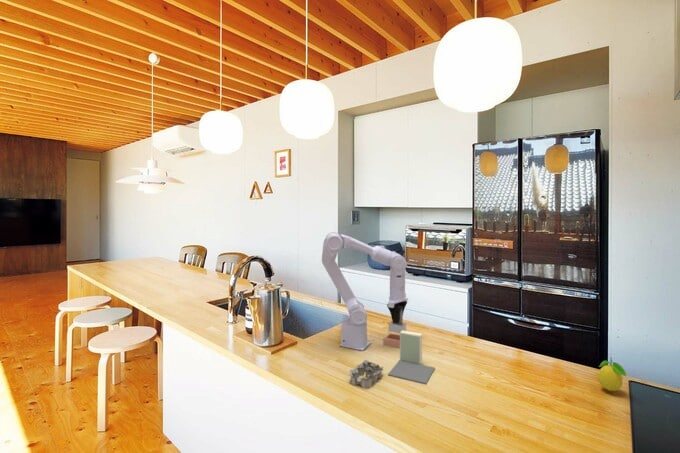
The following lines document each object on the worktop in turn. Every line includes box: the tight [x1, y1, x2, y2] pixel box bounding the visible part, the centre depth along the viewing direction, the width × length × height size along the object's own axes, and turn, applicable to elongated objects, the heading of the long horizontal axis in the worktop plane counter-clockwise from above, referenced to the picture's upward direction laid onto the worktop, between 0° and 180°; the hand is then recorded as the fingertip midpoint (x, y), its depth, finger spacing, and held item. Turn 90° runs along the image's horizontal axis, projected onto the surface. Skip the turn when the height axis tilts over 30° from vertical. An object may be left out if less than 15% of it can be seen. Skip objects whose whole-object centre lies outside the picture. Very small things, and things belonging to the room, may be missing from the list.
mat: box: [387, 359, 436, 385], centre depth 113 cm, size 12×11×1 cm
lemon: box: [597, 357, 628, 392], centre depth 100 cm, size 7×6×10 cm
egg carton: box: [348, 359, 384, 389], centre depth 109 cm, size 11×8×4 cm
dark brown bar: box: [388, 304, 407, 334], centre depth 134 cm, size 3×6×10 cm, turn 62°
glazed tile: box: [399, 330, 423, 365], centre depth 119 cm, size 7×2×10 cm, turn 62°
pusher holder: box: [382, 332, 400, 349], centre depth 135 cm, size 6×9×2 cm
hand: (397, 321), depth 134 cm, fingers closed on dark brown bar, 3 cm apart
